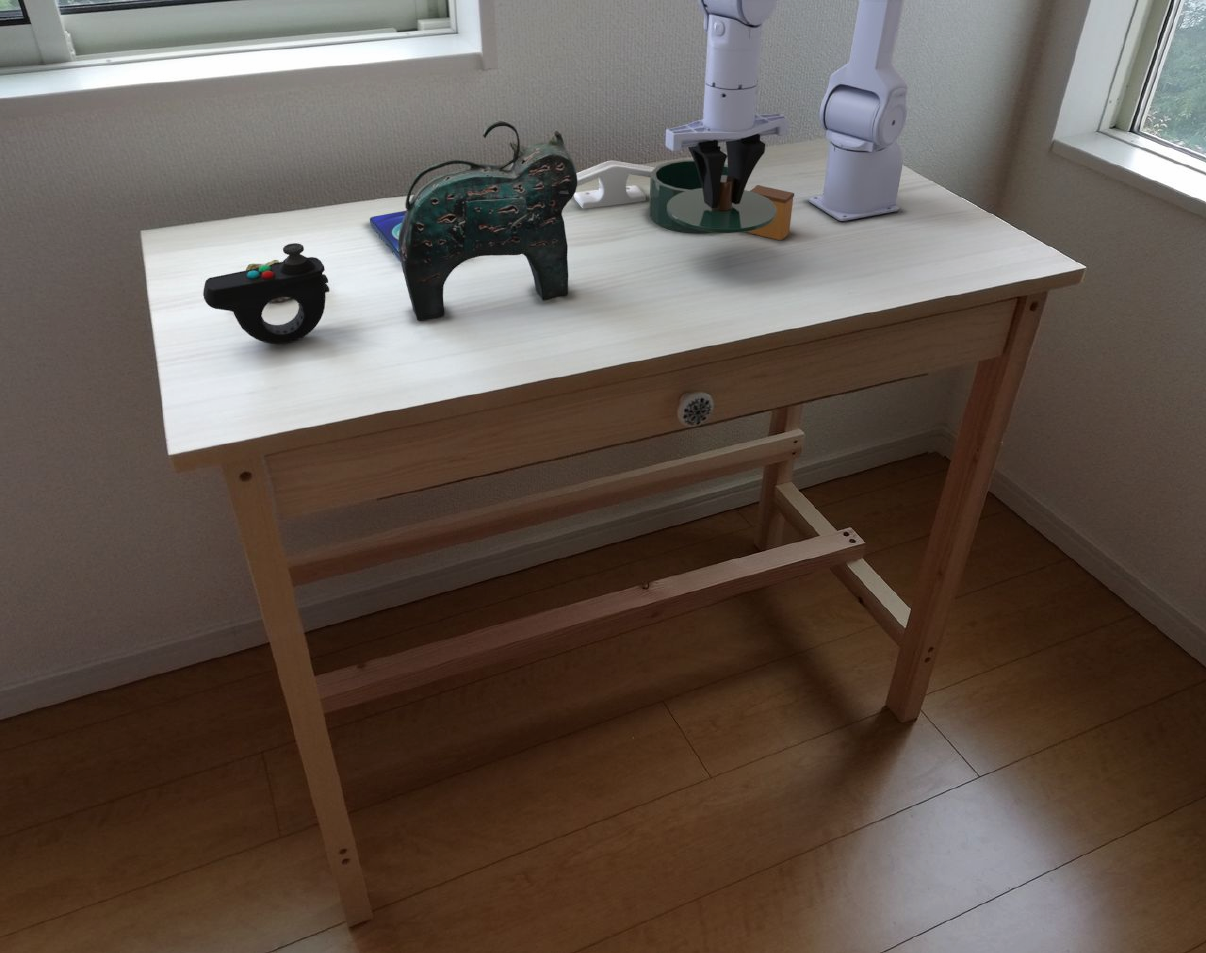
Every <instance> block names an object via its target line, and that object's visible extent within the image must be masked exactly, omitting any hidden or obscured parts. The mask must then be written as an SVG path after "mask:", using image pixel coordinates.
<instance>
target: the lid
mask: <svg viewBox="0 0 1206 953" xmlns="http://www.w3.org/2000/svg"><path fill="white" fill-rule="evenodd" d="M733 189H734V178H733V177H731V176H726V175H722V176H721V182H720V195H719V203H718V207H717V208H711V207H709V206H708V205H707V204H705V203H704V196H703V190H702V188H699V189H693V190H689V191H685V192H682V193H679V194H677V195H675V196H674V197H672V198H671V199H670V200H669V202H668V204H667V213H668V215H669V216H670V217H671V218H672V219H673V220H674V221H676V222H677V223H679V224H681V225H683V226H686V227H689V228H692V229H696V230H701V231H706V232H707V233H717V234H737V233H747V232H746V231H752V230H756V229H759V228H762V227H764V226H767V225H768V224H770V223H771V222H772V221H773V220H774V219H775V217H776V212H777V209H776V206H775V204H774V203H773V202H772V201H771V200H769V199H768V198H766V197H764V196H762V195H760V194H757V193H754V192H750V190H746V189H744V192H743V195H742V198H741V201H740V204H734V203H732V201H733Z"/></svg>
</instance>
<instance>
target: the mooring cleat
mask: <svg viewBox="0 0 1206 953" xmlns="http://www.w3.org/2000/svg"><path fill="white" fill-rule="evenodd" d="M655 168H656V167H654V166H648V165H642V164H637V163H630V162H624V161H619V160H607V161H604V162H601V163H599V164H596V165H594V166H591V167H589V168H586V169H584V170H581V171H579V172H576V174H577V187H580V186H582V185H585V184H586V183H589V182H592V181H595V180H598V184H599V187H598V189H593V190H586V191H585V190H583V191H576V192H575V194H574V195H573V198H574V200H575V202H577V204H578V205H579V206H580V207H581V208H582V210H586V209H592V208H593V209H594V208H602V207H609V206H616V205H625V204H632V203H633V204H634V203H640V202H641V203H642V202H646V201H647V196H646V193H644V192H643V190H641V189H640V188H639V186H637V185H636V184H634V185H627V183H628V179H629V175H633V176H640V177H644V178H645V177H646V178H651V172H652V171H653V170H654V169H655Z"/></svg>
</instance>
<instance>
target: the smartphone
mask: <svg viewBox="0 0 1206 953" xmlns="http://www.w3.org/2000/svg"><path fill="white" fill-rule="evenodd" d="M405 212H406V210H402V211H394V212H390V213H384V214H380V215H374V216H372V217H370V218H369V224H370V226H371V227H372V229H373V230H374V231H375V232H376V234H377V235H378V236H379V237H380V239H381V240H382V241H383V242H384V244H385V245H386V246H387V247H388V248H389V249H390V251H391V252H392V253H393V254H394V255H395V257H396V258H397V259H398V261H400V263H401V259H400V255H399V250H398V239H399V232H400V227H401V224H402V221H403V218H404V215H405Z"/></svg>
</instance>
